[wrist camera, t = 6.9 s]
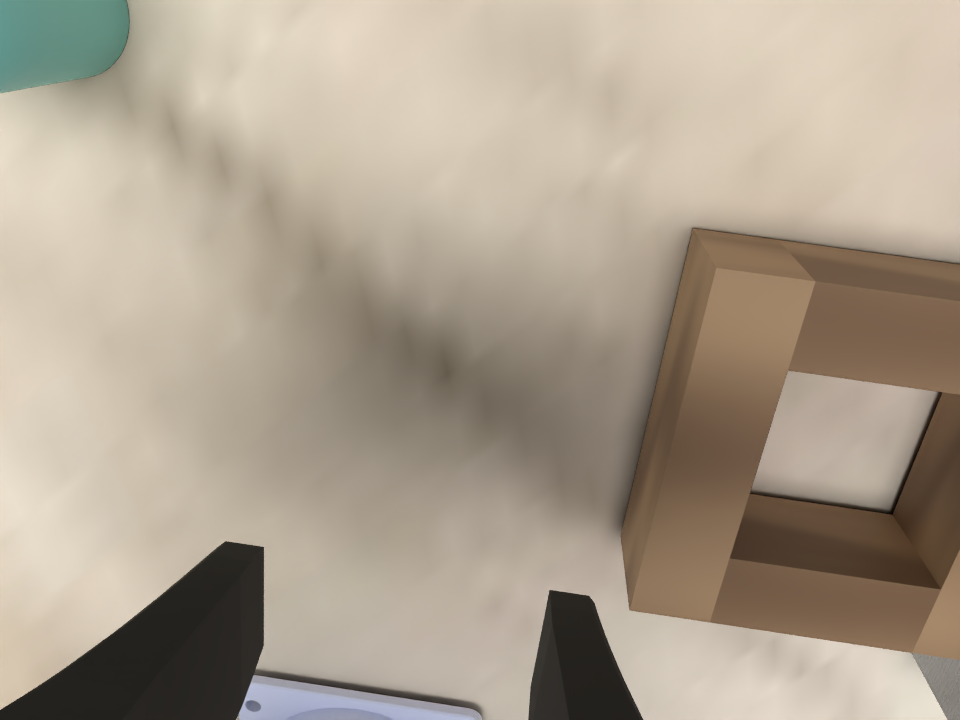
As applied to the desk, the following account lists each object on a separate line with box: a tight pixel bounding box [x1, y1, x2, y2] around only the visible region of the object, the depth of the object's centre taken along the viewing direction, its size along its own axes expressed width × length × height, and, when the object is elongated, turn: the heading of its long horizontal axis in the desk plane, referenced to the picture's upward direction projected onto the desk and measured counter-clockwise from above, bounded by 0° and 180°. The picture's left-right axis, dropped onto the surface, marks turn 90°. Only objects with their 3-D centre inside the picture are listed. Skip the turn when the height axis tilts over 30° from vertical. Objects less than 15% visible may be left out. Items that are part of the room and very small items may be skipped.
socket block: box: [621, 228, 960, 660], centre depth 19 cm, size 9×9×3 cm
